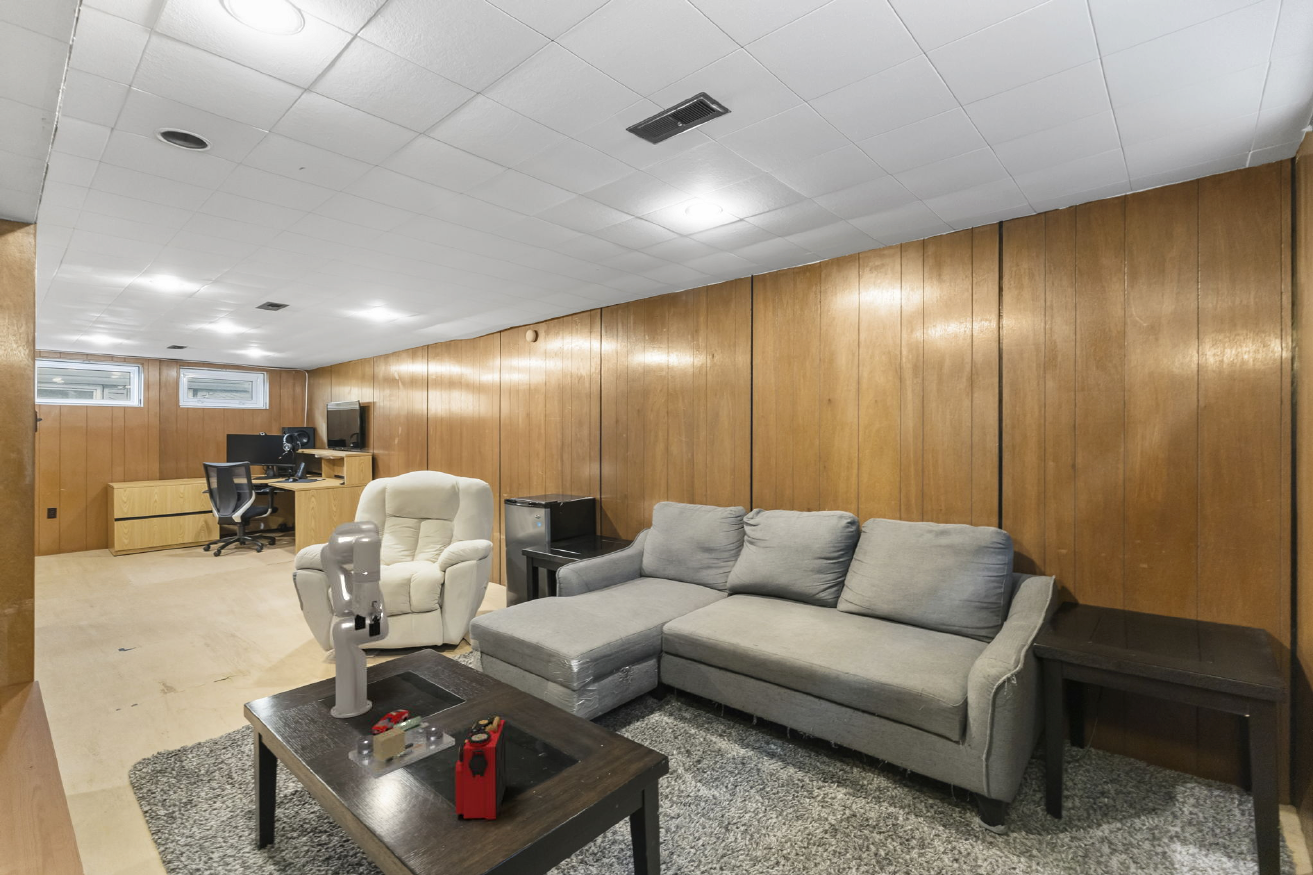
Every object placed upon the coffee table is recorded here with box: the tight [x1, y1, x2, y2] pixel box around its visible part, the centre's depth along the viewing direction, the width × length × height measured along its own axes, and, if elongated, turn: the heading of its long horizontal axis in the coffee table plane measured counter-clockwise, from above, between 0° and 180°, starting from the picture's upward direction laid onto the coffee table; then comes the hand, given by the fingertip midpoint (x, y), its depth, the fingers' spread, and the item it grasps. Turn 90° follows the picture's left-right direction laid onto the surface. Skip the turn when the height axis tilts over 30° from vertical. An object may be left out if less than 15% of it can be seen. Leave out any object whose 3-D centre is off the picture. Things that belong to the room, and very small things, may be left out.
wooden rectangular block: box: [373, 727, 413, 761], centre depth 174 cm, size 10×4×7 cm, turn 142°
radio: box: [454, 716, 507, 820], centre depth 153 cm, size 16×10×20 cm, turn 5°
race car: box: [371, 709, 410, 736], centre depth 195 cm, size 13×5×4 cm, turn 160°
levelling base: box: [348, 715, 456, 779], centre depth 180 cm, size 17×24×6 cm
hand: (367, 632), depth 186 cm, fingers open, 9 cm apart
